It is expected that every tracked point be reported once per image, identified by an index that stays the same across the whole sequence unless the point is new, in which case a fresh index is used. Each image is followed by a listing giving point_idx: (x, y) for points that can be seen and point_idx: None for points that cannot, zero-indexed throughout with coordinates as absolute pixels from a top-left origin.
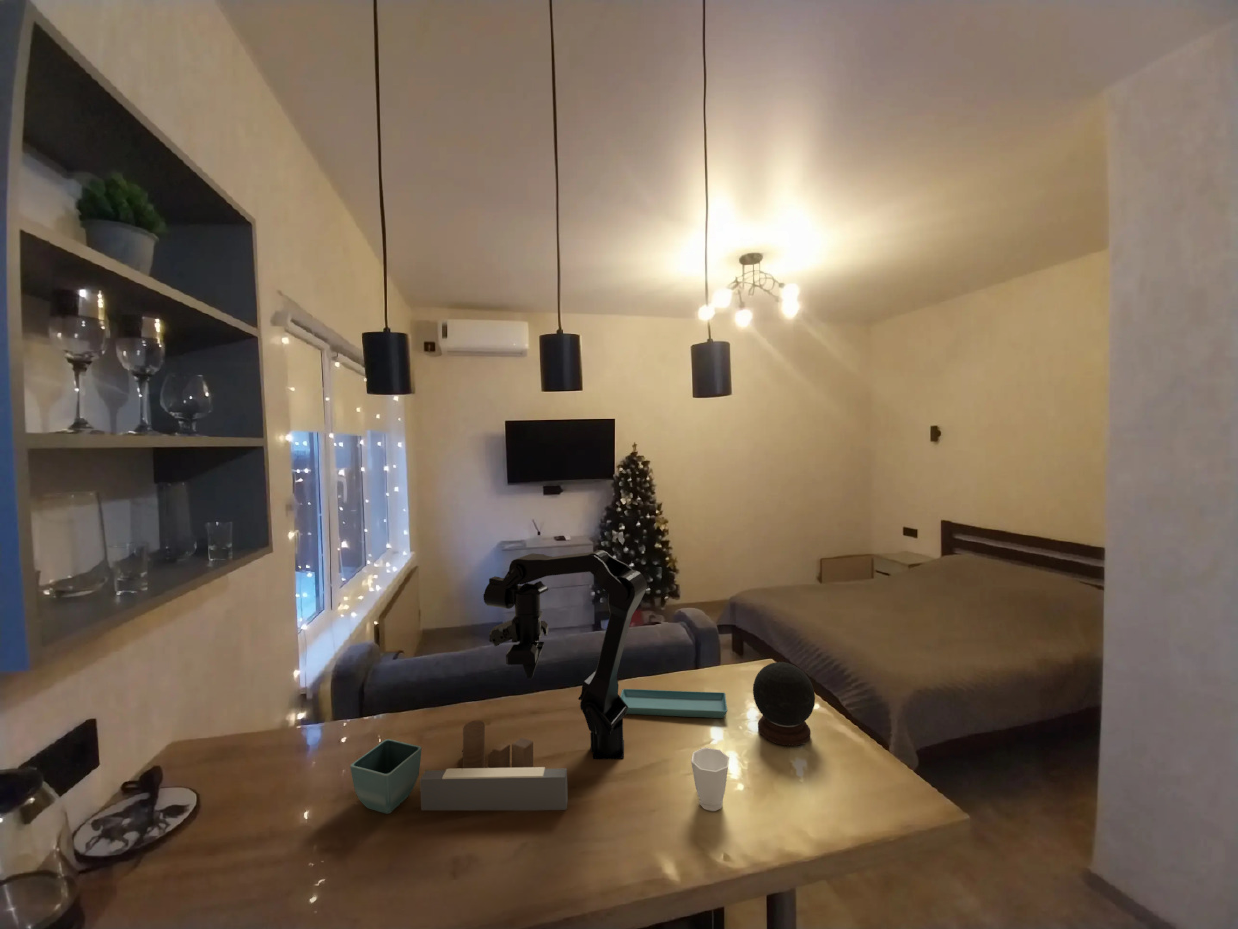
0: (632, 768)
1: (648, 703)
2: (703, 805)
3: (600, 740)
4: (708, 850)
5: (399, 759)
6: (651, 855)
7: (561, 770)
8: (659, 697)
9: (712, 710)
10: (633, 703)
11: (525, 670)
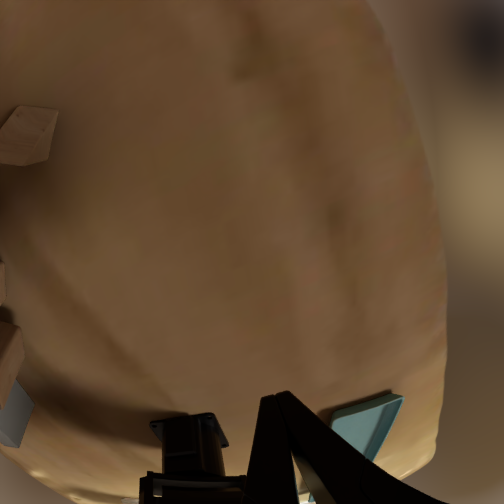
0: (153, 462)
1: (359, 431)
2: (123, 500)
3: (162, 458)
4: (74, 493)
5: None
6: (37, 467)
7: (9, 442)
8: (374, 435)
9: (311, 496)
10: (362, 416)
11: (251, 463)
